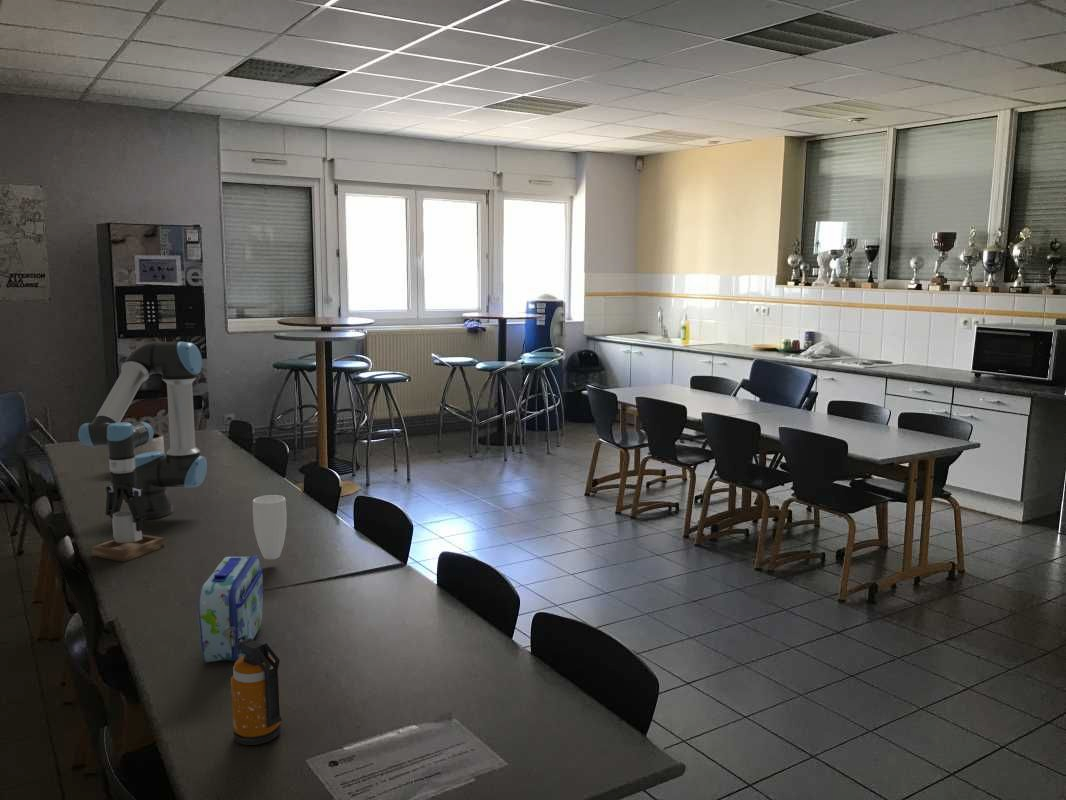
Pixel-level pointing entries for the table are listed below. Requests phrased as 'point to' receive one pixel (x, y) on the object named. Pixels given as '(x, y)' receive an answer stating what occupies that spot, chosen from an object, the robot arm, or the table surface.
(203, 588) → the lunch box
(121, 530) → the cup
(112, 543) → the tray
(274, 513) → the cup
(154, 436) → the planter
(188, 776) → the table surface
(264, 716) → the canister
